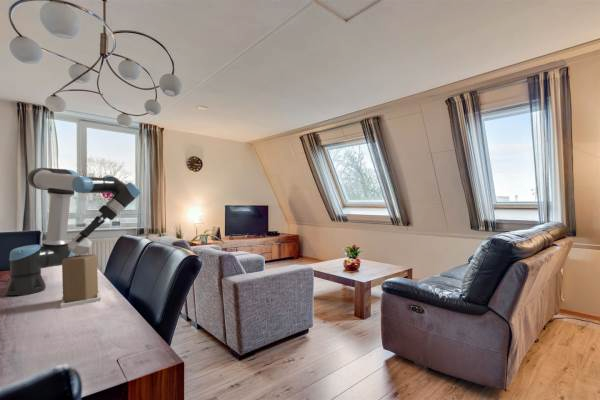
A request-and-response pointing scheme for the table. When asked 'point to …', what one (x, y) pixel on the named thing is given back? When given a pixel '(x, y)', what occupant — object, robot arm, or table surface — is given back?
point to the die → (82, 247)
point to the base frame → (80, 301)
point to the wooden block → (79, 278)
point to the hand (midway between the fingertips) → (70, 246)
